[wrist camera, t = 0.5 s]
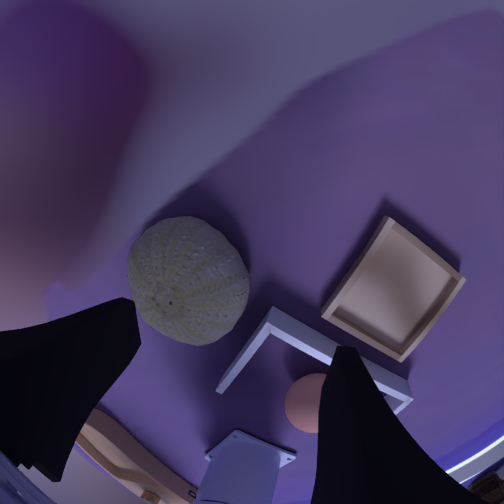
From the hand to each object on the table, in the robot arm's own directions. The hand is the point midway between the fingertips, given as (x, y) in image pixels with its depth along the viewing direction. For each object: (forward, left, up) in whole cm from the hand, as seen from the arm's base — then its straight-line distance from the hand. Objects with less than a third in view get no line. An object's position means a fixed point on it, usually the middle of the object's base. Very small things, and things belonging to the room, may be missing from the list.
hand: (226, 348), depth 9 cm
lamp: (-47, -1, -11) cm, 48 cm away
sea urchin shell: (-4, +4, -11) cm, 13 cm away
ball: (-7, -9, -11) cm, 16 cm away
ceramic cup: (-15, -61, -11) cm, 64 cm away
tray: (+3, -9, -11) cm, 14 cm away
